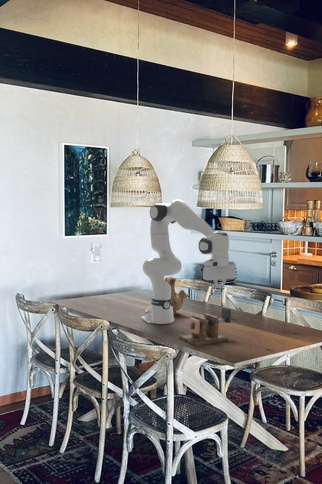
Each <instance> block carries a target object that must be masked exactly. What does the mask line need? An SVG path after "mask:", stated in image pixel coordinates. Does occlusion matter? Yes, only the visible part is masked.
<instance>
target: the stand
mask: <svg viewBox="0 0 322 484" xmlns="http://www.w3.org/2000/svg"><path fill="white" fill-rule="evenodd" d="M203 315H204V317H202V316H199V315H197V314H193V315H191V318H195V319H198V320H200V334H195V333H192V332H191V334H189V333H188V334H183V335H182V334H181V335H178V336H179V337H178V338H179V339H180V340H181V339H182V341H184V342H186V343H189V344H191V345H193V346H204V345H209V344H210V345H212V344H217V343H223V342H228V340H229V339H228V337H226V336H223V335H219V324H220V323H219V319H220V318H219V316H215V315H213V314H210V313H204V314H203ZM206 320H211V325H206ZM194 328H195V327H194Z"/></svg>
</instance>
